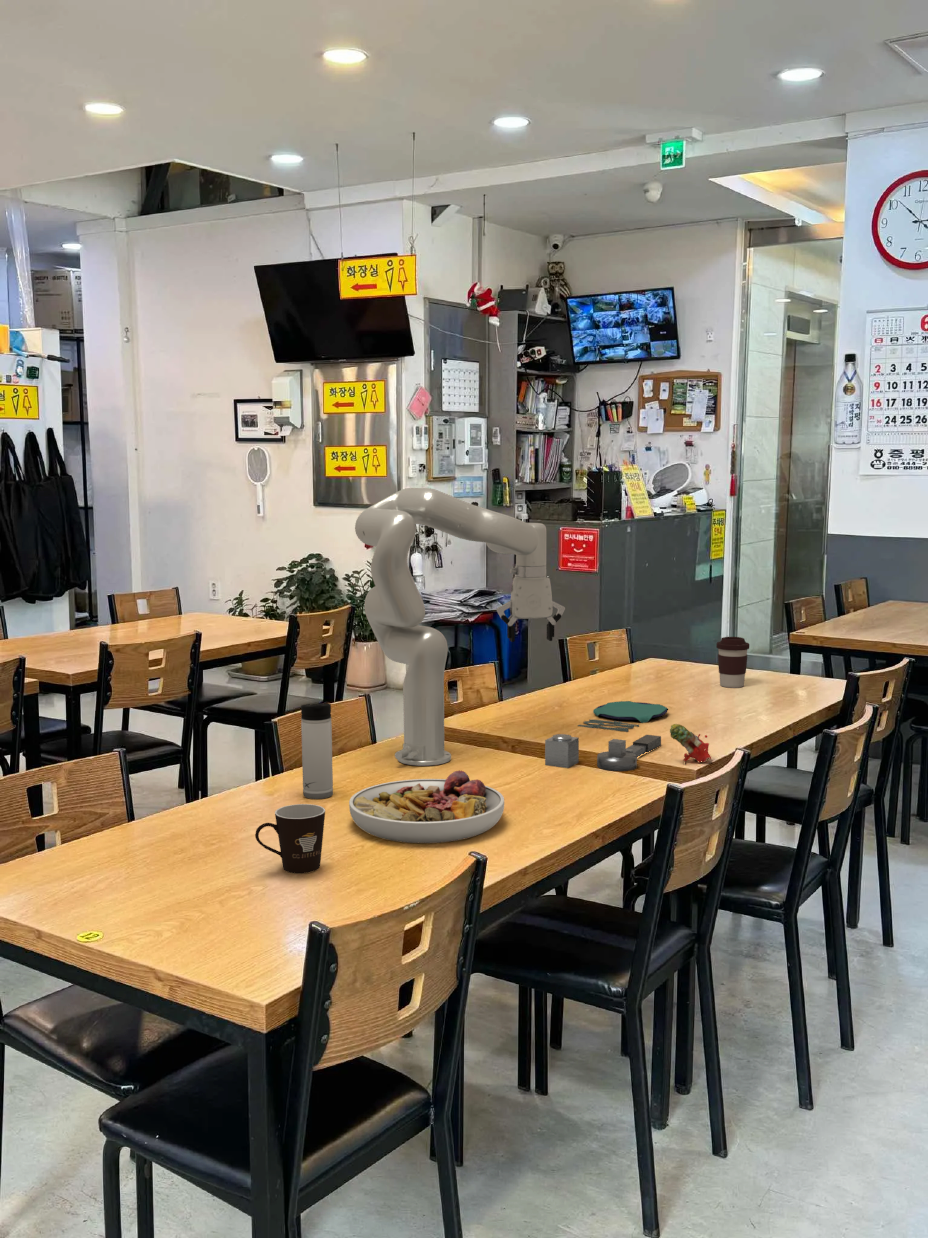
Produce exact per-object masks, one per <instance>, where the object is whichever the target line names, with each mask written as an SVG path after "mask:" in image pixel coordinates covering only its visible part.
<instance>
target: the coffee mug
mask: <svg viewBox="0 0 928 1238" xmlns="http://www.w3.org/2000/svg"><path fill="white" fill-rule="evenodd" d="M274 816H275V823H276V824H275V823H271V822H265V823H263V824H260V825H259V826H258V827H257V828H256V830H255V834H254V835H255V840H256V842H257V843H258V844H259V845H260V846H261V847H263V848H264V849H265V850H267V851H270V852H271V853H274V854H276V855H277V856H279V857H280V858H281V863H282V870H284V871H285V872H287V873H290V874H299V875H300V874H309V873H312V872H315V871H318V870H319V869H320V868H321V859H322V851H323V850H322V849H323V841H324V840H323V839H324V830H325V829H324V827H325V817H326V809H325V808H324V806H321V805H318V804H310V803H300V804H299V803H297V804H290V805H289V804H288V805H284V806H282V807H281V806H280V807H279V808H277V809H275V811H274ZM266 827H271V828H272V829H274V831H275V833H276V834H277V836H278V842H279V844H278V845H279V850H280V851H279V850H277V849H275V848H272V847H271V846H268V845H266V844H264V842H263V841H262V840H261V839H260V838H259V834H260V832H261V831H262V829H264V828H266Z"/></svg>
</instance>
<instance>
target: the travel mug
mask: <svg viewBox="0 0 928 1238" xmlns="http://www.w3.org/2000/svg"><path fill="white" fill-rule="evenodd" d="M300 707H301V709H300V711H301V712H300V713H301V715H300V717H301V718H300V721H301V729H300V730H301V753H302V754H301V762H302V765H301V766H302V768H301V769H302V796H303V797H305V798H306V799H309V800H322V799H328V798H330V797H332V796H333V795H334V788H333V787H334V781H333V780H334V779H333V775H334V774H333V736H332V735H333V731H332V730H333V729H332V714H331V713H332V704H331V703H318V704H310V703H307V704H301V706H300Z"/></svg>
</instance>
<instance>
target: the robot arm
mask: <svg viewBox="0 0 928 1238" xmlns="http://www.w3.org/2000/svg"><path fill="white" fill-rule="evenodd" d="M354 524H355V525H354V530H355V531H354V532H355V535H356V537H357V538H358V539H359V541H361V543H363V544H364V545H367V546H371V547H375V548H374V553H373V555H372V558H371V562H370V575H371V578H372V581H373V584H374V586H373V587H372V588H371V589H370V590H369V591H368V592H367V594H366V596H365V599H364V612H365V616H366V619H367V621H368V624H369V626H370V627H371V630H372V632H373V634H374V637H375V638H376V641H377V642H378V645H379V646H380V649H381V651H382V652H383V654H384V655H385V656H386V658H388V659H389V660H391V661H392V662H395V663H399V664H404V665H408V667H407V670H406V673H405V675H404V679H403V683H402V684H403V686H402V695H403V697H402V698H403V700H402V701H403V703H402V704H403V705H402V706H403V707H402V708H403V744H402V749H401V750H397V751H396V752H395V753H394V758H395V759H396V760H397V761H398V762H399V763H401V764H404V765H408V766H417V767H418V766H420V767H422V766H423V767H424V766H426V767H427V766H437V765H442V764H445V763H448V762H450V761H451V759H452V754H451V753H450V752H449V751H447V750H445V687H444V686H445V668H446V662H447V656H448V652H449V651H448V650H449V649H448V641H447V639H446V637H445V635H444V634H443V633H442V632H440V630H438V629H436V628H434V627H431V626H424V625H420V624H421V623H422V622H423V620H425V617H426V607H425V604H424V600H423V597H422V596H421V594H420V591H419V589H418V587H417V585H416V583H415V580H414V577H413V576H412V573H411V571H410V568H409V564H408V563H409V562H408V557H409V556H408V555H409V553H410V549H411V545H412V544H413V541H414V539H415V536H416V533H417V526H416V525H422V526H426V527H429V528H432V529H435V530H437V531H440V532H443V533H445V534H448V535H450V536H453V537H456V538H457V539H461V540H466V541H469V542H470V541H471V542H476V543H477V542H478V543H485V544H486V546H487V548H488V549H489V550H491V551H492V552H494V553H498V554H505V555H515V566H514V567H512V568H511V567H510V570H509V572H510V574H511V575H515V577H513V579H512V585H511V590H510V599H509V601H507V602H505V603H504V604H502V605H500V606H498V607H497V608H496V612H497V614H498V615H499V618H500V619H501V620H502V621H503V623H504V624H506V625H507V626H506V627H507V630H506V631H507V634H506V636H507V639H509V642H511V643H514V642H515V641H516V640H515V639H516V637H515V636H516V632H515V630H516V629H515V628H516V627H515V625H514V624H515V623H516V621H517V620H523V619H524V620H529V619H530V620H531V619H533V620H534V619H537V620H538V619H546V621H547V624H546V640H548V641H550V642H552V641H553V638H554V637H555V626H556V625H557V622H559V620H560V619H561V618H562V616H563V614H564V612H565V610H566V607H565V606H564V605H561V604H560V603H558V602H556V601H554V600H553V596H552V595H553V593H552V585H551V578H549V577H547V527H546V525H545V523H544V524H543V523H541V522H525V521H523V520H521V519H519V518H516V517H513V516H510V515H507V514H504V513H501V512H496V511H494V510H490V509H488V508H485V507H481V506H479V505H475V504H472V503H469V502H466V501H465V500H462V499H460V498H457V497H455V496H452V495H450V494H447V493H445V492H443V491H441V490H437V489H434V488H431V487H430V488H429V487H406V488H402V489H400V490H398V491H396V492H394V493H392V494H391V495H389V496H387V497H385V498H383V499H382V500H380V501H378V502H376V503H374V504H372V505H370V506H369V507H367V508H365V509H364V510H363V511H362V512H360V513H359V515H358V517H357V518H356V520H355V523H354ZM553 608H555V609H557V612H556V613H555V614H554V615H553V612H554V611H553V610H554V609H553ZM508 609H509V612H510V616H509V617H507V615H506V614H505V611H506V610H508Z"/></svg>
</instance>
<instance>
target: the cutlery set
mask: <svg viewBox="0 0 928 1238" xmlns="http://www.w3.org/2000/svg"><path fill="white" fill-rule="evenodd" d="M668 711H669V708H668V707H666V706H664V705H662V704H658V703H656V704H655V703H649V702H639V701H636V702H635V701H631V700H630V701H629V700H624V701H623V700H621V701H613V702H607V703H605V704H602V705H599V706H597V707H595V708H594V709H593V711H592V713H593V714H594V715H595V716H596V717H598V718H600V717H605V718H608V719H614V720H613V721H609V720H602V719H588V720H584V721H583V724H578V725H577V727H581V728H589V729H603V730H609V731H614V732H615V731H616V732H619V731H620V732H625V733H628V732H629V729H634V728H635V727H637V728H639V727H640V724H633V723H627V722H623V720H624V721H632V720H633V721H634V720H635V721H636V720H637V721H638V722H640V723H642V724H643V723H644V724H646V723H647V722H649V721H650V720H651V719H654V718H658V717H661V716H664V715H666V714H667V713H668ZM617 720H618V721H617ZM619 720H622V721H619Z"/></svg>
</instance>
